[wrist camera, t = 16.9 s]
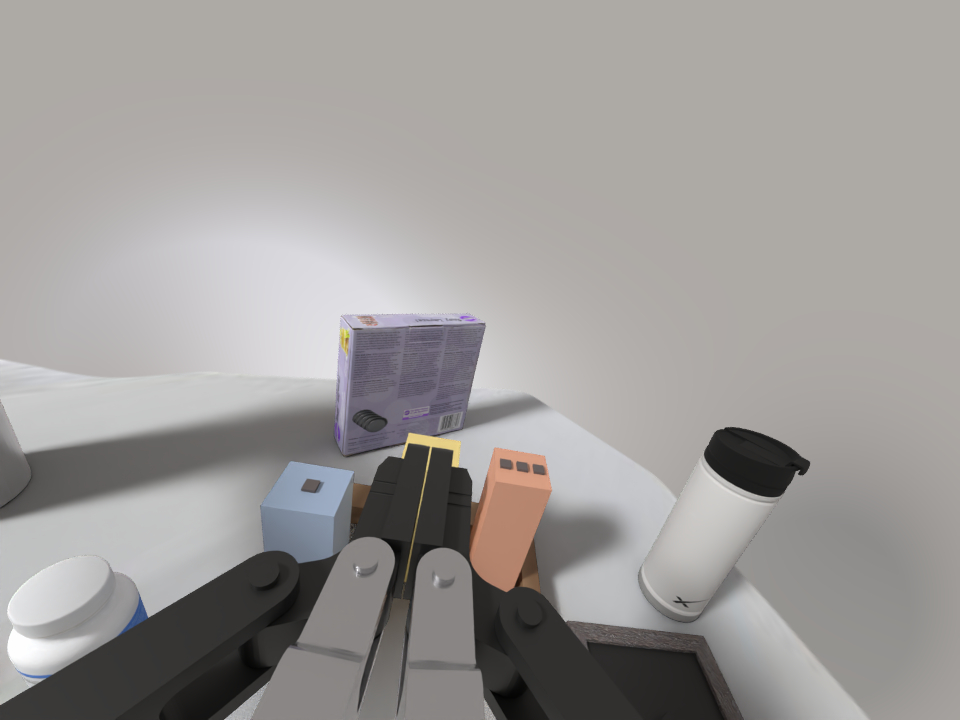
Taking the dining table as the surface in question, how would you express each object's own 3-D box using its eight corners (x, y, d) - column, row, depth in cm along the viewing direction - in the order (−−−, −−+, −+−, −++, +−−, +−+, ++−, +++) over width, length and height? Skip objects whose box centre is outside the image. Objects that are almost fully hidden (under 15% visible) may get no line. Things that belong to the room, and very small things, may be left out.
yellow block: (383, 579, 35) (399, 462, 28) (393, 539, 38) (409, 428, 32) (431, 586, 35) (458, 472, 29) (437, 545, 39) (461, 437, 33)
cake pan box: (454, 410, 61) (475, 308, 54) (470, 428, 58) (495, 323, 50) (331, 435, 50) (335, 312, 43) (342, 460, 47) (348, 331, 39)
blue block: (271, 631, 29) (260, 502, 23) (295, 579, 33) (292, 456, 27) (329, 639, 30) (334, 514, 23) (346, 586, 34) (355, 466, 27)
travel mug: (684, 640, 35) (797, 479, 27) (625, 580, 40) (706, 426, 31) (713, 606, 39) (821, 455, 31) (656, 555, 44) (736, 411, 35)
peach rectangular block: (463, 590, 35) (496, 479, 29) (465, 550, 39) (495, 443, 33) (509, 597, 36) (552, 488, 29) (507, 556, 39) (545, 452, 33)
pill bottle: (161, 617, 29) (135, 531, 25) (155, 694, 25) (122, 609, 21) (58, 653, 26) (8, 563, 22) (33, 747, 22) (-34, 661, 18)
